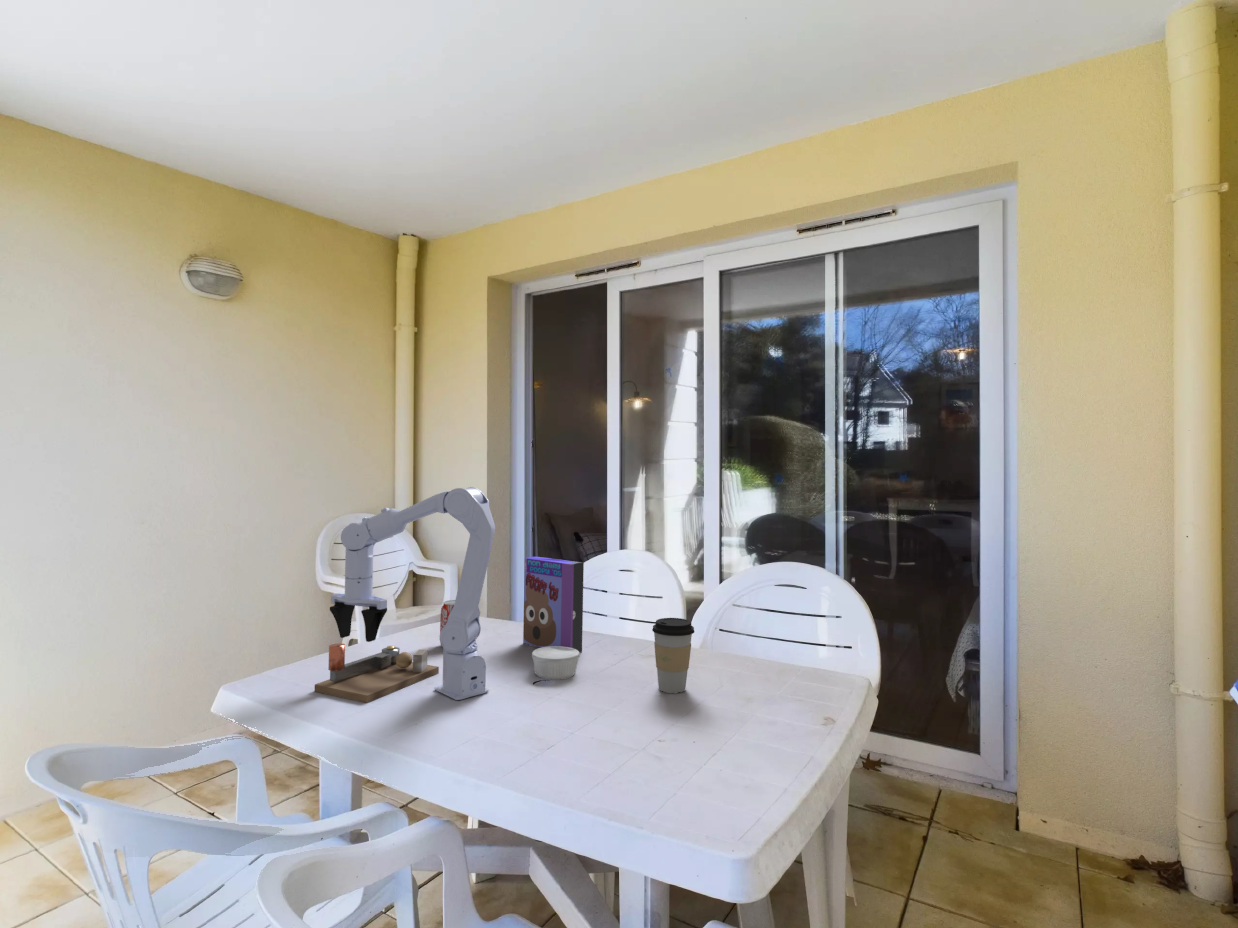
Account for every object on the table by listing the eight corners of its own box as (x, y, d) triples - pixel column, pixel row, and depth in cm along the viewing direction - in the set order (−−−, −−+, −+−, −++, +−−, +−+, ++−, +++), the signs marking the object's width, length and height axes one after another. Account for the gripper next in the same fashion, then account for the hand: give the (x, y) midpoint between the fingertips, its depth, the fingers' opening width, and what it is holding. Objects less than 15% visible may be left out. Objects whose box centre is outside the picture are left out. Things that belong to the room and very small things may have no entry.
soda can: (462, 650, 172) (463, 604, 172) (436, 649, 172) (437, 604, 172) (469, 643, 179) (470, 599, 179) (444, 642, 179) (445, 599, 179)
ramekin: (582, 668, 158) (582, 646, 158) (574, 682, 147) (575, 659, 147) (537, 665, 159) (538, 644, 159) (526, 680, 148) (527, 657, 148)
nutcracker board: (389, 664, 158) (390, 641, 158) (438, 673, 152) (439, 649, 152) (314, 691, 138) (315, 665, 138) (367, 702, 132) (367, 675, 132)
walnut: (403, 664, 152) (403, 649, 152) (415, 666, 150) (415, 651, 150) (392, 668, 149) (392, 653, 149) (404, 670, 147) (404, 655, 147)
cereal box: (523, 643, 179) (524, 557, 179) (535, 640, 183) (536, 555, 183) (570, 655, 169) (571, 563, 169) (582, 651, 172) (583, 561, 173)
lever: (390, 658, 157) (390, 626, 157) (404, 661, 155) (405, 628, 155) (323, 681, 139) (324, 645, 139) (338, 684, 137) (339, 648, 137)
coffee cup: (644, 691, 142) (645, 623, 142) (661, 679, 150) (662, 615, 150) (684, 699, 137) (685, 628, 137) (699, 686, 146) (700, 620, 146)
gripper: (397, 576, 143) (396, 638, 143) (348, 572, 149) (347, 630, 149) (373, 581, 137) (372, 645, 137) (323, 576, 143) (322, 637, 142)
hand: (357, 638), depth 142 cm, fingers open, 7 cm apart
